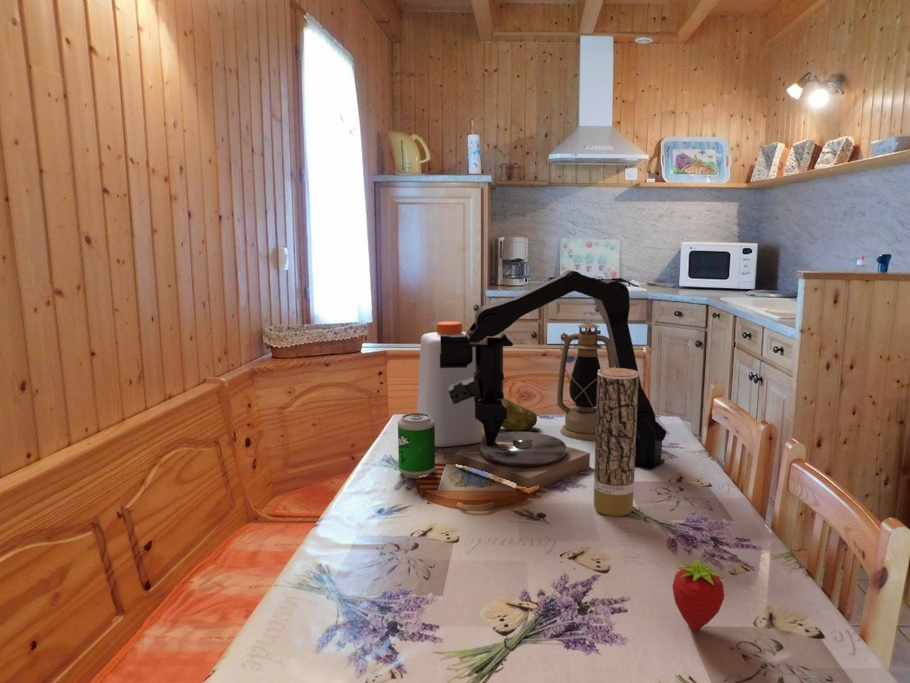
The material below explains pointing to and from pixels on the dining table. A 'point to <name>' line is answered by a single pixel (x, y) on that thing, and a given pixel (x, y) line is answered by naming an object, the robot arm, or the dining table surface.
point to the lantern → (582, 382)
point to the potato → (518, 417)
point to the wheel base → (527, 475)
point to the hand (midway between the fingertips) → (489, 440)
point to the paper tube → (615, 440)
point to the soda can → (416, 444)
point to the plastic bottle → (446, 392)
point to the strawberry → (698, 594)
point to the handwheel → (523, 449)
